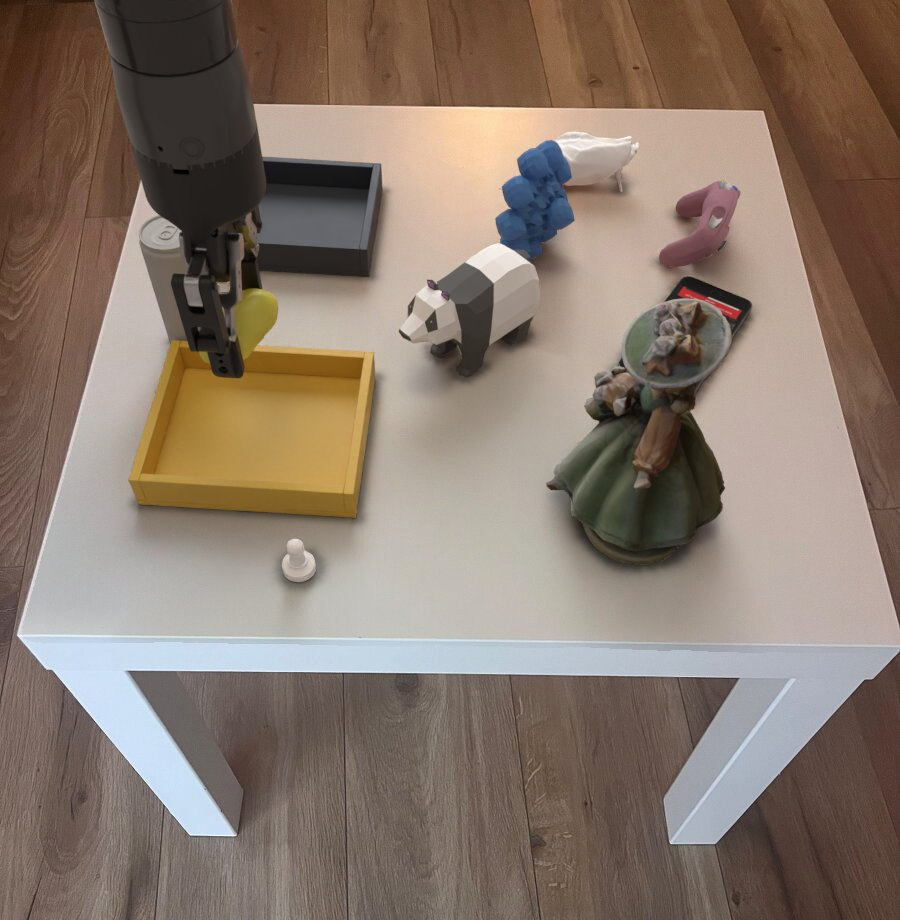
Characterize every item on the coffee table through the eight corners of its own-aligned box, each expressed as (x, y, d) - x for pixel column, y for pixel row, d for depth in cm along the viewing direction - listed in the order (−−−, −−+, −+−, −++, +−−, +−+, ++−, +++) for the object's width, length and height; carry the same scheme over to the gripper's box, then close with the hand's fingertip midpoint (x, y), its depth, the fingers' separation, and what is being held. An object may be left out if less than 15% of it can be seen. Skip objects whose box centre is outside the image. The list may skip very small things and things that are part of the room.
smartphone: (755, 302, 87) (689, 399, 80) (752, 308, 87) (687, 404, 81) (685, 273, 89) (615, 365, 82) (683, 279, 89) (613, 371, 82)
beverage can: (162, 357, 82) (125, 243, 72) (186, 322, 85) (153, 207, 74) (211, 369, 82) (181, 256, 71) (234, 333, 84) (207, 219, 74)
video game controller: (688, 289, 91) (738, 242, 85) (652, 262, 90) (700, 213, 84) (706, 229, 96) (754, 182, 90) (672, 203, 95) (719, 154, 89)
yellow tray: (138, 504, 74) (127, 480, 71) (179, 366, 82) (171, 339, 79) (355, 518, 73) (353, 494, 71) (375, 377, 82) (373, 351, 79)
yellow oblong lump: (297, 327, 70) (291, 285, 66) (226, 388, 66) (216, 348, 63) (255, 305, 71) (247, 263, 68) (184, 364, 67) (171, 323, 64)
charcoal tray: (209, 267, 89) (202, 240, 86) (234, 181, 96) (229, 154, 93) (368, 276, 89) (367, 249, 86) (382, 190, 96) (381, 163, 93)
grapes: (536, 307, 87) (551, 194, 77) (476, 280, 89) (483, 166, 78) (593, 242, 92) (614, 127, 82) (535, 218, 94) (549, 103, 84)
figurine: (549, 423, 79) (583, 222, 62) (711, 439, 79) (791, 241, 62) (539, 561, 72) (575, 375, 55) (719, 580, 71) (812, 398, 54)
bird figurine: (608, 173, 100) (523, 156, 97) (636, 122, 94) (547, 102, 91) (613, 208, 99) (526, 192, 96) (643, 159, 92) (551, 140, 90)
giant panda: (499, 301, 87) (507, 213, 79) (541, 332, 85) (553, 244, 77) (383, 375, 82) (379, 288, 74) (425, 409, 80) (425, 324, 71)
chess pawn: (317, 555, 71) (312, 528, 68) (315, 582, 70) (310, 557, 67) (283, 555, 71) (277, 529, 68) (281, 583, 70) (275, 557, 67)
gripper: (156, 53, 58) (208, 269, 72) (96, 193, 50) (168, 404, 64) (274, 60, 57) (303, 275, 71) (232, 201, 50) (274, 410, 64)
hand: (239, 335), depth 68 cm, fingers closed on yellow oblong lump, 7 cm apart
